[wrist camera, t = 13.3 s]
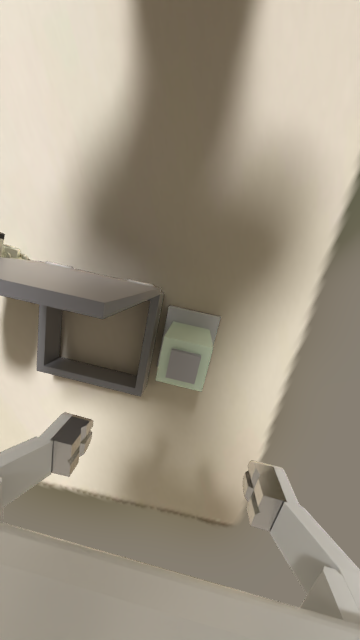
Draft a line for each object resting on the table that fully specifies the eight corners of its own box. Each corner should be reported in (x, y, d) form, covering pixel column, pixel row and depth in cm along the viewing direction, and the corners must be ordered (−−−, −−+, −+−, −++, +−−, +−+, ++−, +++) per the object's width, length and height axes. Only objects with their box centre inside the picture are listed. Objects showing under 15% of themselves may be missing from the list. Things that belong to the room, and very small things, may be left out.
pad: (169, 305, 26) (169, 305, 26) (220, 316, 26) (220, 317, 25) (157, 365, 28) (157, 366, 28) (204, 376, 28) (204, 377, 27)
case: (58, 261, 26) (-178, 234, 10) (165, 285, 26) (105, 298, 9) (52, 361, 30) (-131, 465, 13) (146, 384, 29) (77, 526, 12)
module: (173, 321, 26) (163, 338, 19) (209, 329, 26) (213, 350, 19) (166, 354, 27) (154, 383, 20) (201, 363, 27) (201, 395, 20)
